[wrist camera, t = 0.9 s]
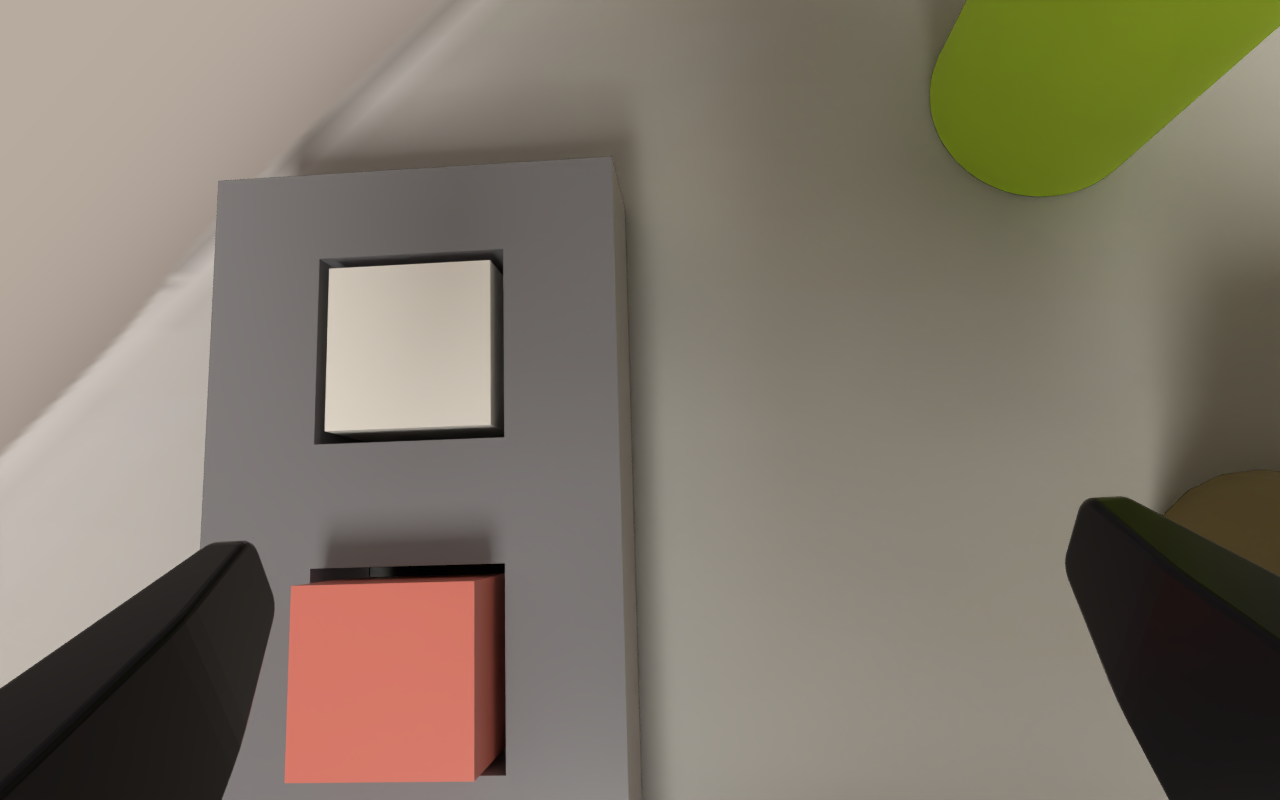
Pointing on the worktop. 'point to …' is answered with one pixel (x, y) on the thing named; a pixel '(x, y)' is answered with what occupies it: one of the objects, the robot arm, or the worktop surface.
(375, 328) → the button
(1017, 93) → the soap dispenser
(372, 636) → the red button
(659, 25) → the worktop surface
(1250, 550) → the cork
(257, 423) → the button panel
